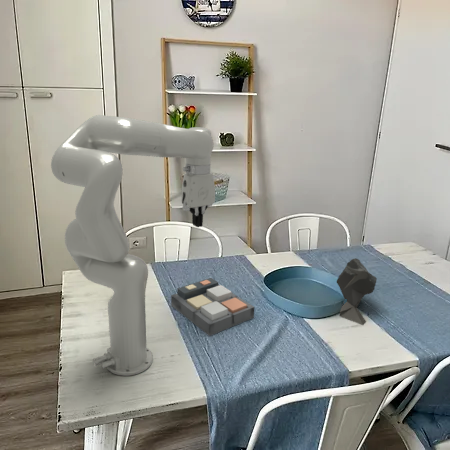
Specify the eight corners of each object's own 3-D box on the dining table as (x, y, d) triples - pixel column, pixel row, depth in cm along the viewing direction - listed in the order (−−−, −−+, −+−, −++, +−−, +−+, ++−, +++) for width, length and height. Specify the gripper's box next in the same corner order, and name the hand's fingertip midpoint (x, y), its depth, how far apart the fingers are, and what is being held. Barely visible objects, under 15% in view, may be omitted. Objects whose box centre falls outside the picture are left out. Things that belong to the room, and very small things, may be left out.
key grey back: (217, 304, 144) (217, 296, 143) (206, 297, 148) (206, 289, 147) (231, 299, 147) (231, 291, 146) (220, 292, 152) (220, 285, 151)
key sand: (197, 315, 139) (197, 307, 138) (186, 307, 144) (186, 299, 143) (212, 309, 143) (212, 301, 142) (201, 302, 147) (201, 294, 146)
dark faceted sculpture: (380, 307, 152) (388, 259, 146) (363, 325, 140) (371, 274, 134) (342, 293, 160) (348, 248, 154) (322, 309, 149) (328, 261, 143)
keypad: (209, 336, 132) (209, 316, 130) (171, 305, 148) (171, 288, 146) (253, 317, 142) (254, 299, 140) (213, 291, 159) (214, 274, 156)
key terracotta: (232, 318, 138) (232, 310, 137) (220, 310, 143) (221, 302, 142) (246, 313, 142) (247, 304, 141) (234, 305, 146) (235, 297, 145)
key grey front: (212, 323, 133) (212, 314, 132) (200, 314, 137) (201, 306, 136) (227, 317, 137) (227, 308, 136) (216, 309, 141) (216, 301, 140)
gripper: (184, 174, 125) (184, 233, 132) (225, 168, 134) (223, 224, 140) (170, 169, 131) (171, 226, 137) (210, 164, 140) (209, 218, 146)
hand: (197, 225), depth 139 cm, fingers closed
